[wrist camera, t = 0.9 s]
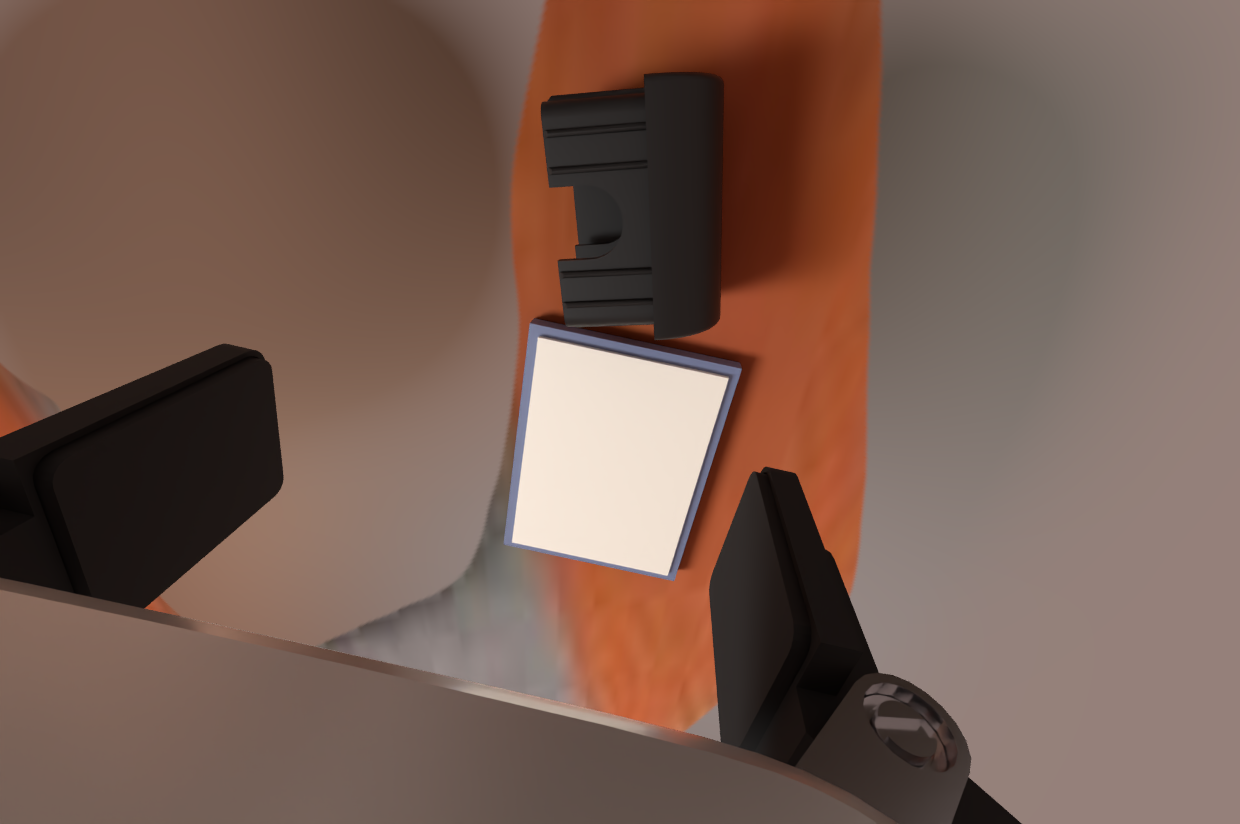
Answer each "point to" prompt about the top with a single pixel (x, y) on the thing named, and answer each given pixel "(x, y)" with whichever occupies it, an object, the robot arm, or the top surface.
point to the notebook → (613, 447)
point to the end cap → (642, 202)
